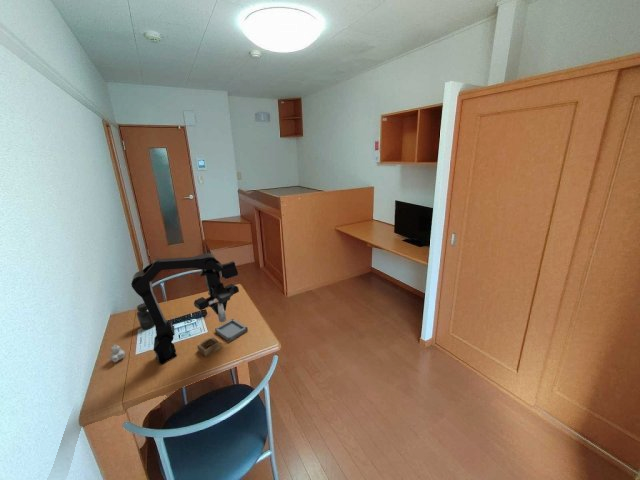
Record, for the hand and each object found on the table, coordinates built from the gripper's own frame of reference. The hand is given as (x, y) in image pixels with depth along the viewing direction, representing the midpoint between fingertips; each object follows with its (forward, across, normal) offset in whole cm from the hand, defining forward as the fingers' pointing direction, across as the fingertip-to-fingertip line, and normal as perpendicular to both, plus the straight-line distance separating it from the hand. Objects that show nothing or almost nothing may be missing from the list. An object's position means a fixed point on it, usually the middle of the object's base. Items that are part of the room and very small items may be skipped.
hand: (221, 312), depth 125 cm
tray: (+13, +4, +2) cm, 14 cm away
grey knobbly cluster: (+12, -37, +24) cm, 46 cm away
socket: (+13, -9, -2) cm, 16 cm away
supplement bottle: (+13, -20, +41) cm, 48 cm away
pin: (+4, 0, 0) cm, 4 cm away
